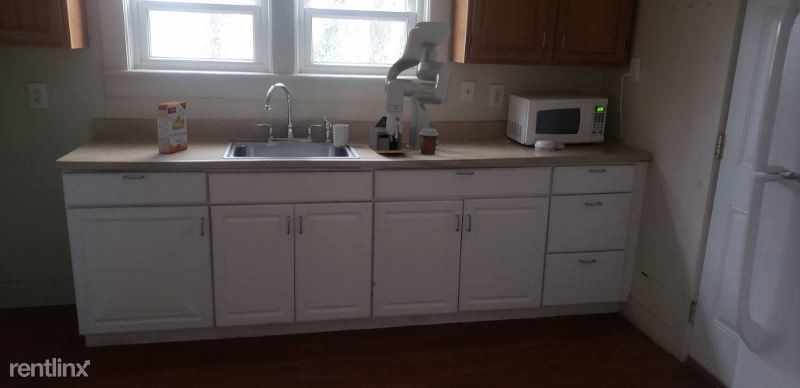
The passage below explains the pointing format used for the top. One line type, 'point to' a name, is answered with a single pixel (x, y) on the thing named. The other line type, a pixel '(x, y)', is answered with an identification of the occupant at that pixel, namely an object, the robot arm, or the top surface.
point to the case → (381, 139)
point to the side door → (394, 151)
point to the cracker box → (172, 127)
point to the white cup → (340, 134)
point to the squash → (382, 122)
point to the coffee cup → (428, 141)
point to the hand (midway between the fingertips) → (392, 150)
